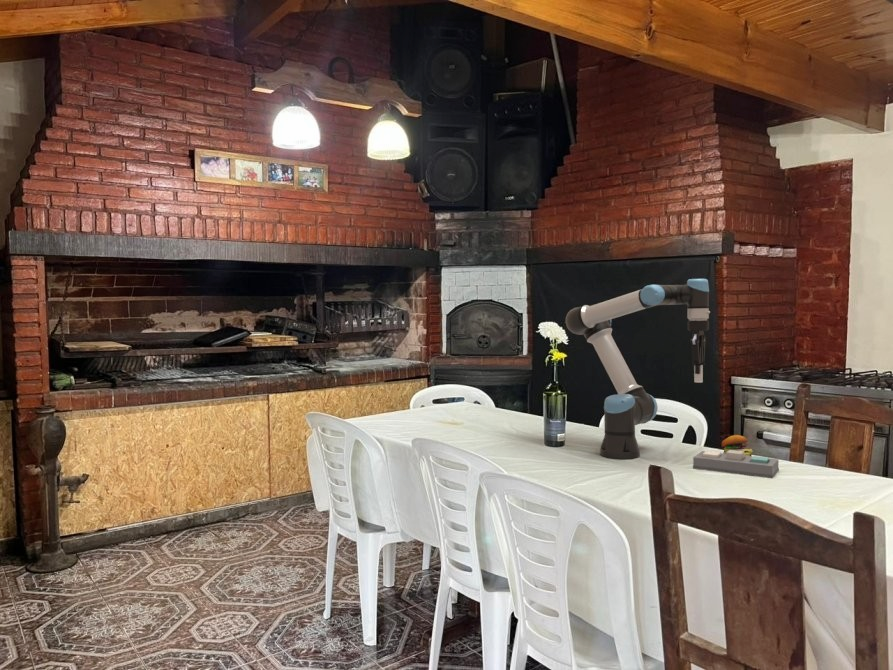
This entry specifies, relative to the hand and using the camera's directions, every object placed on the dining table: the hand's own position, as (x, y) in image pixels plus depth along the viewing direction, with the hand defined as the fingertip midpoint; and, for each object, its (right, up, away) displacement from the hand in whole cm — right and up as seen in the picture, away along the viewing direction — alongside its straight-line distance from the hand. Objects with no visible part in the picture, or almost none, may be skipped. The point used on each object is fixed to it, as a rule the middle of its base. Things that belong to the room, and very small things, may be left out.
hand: (698, 382), depth 250 cm
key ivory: (+1, -28, -10) cm, 30 cm away
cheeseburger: (+15, -29, +2) cm, 33 cm away
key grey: (+7, -27, -15) cm, 32 cm away
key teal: (+14, -29, -20) cm, 37 cm away
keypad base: (+7, -30, -15) cm, 34 cm away
